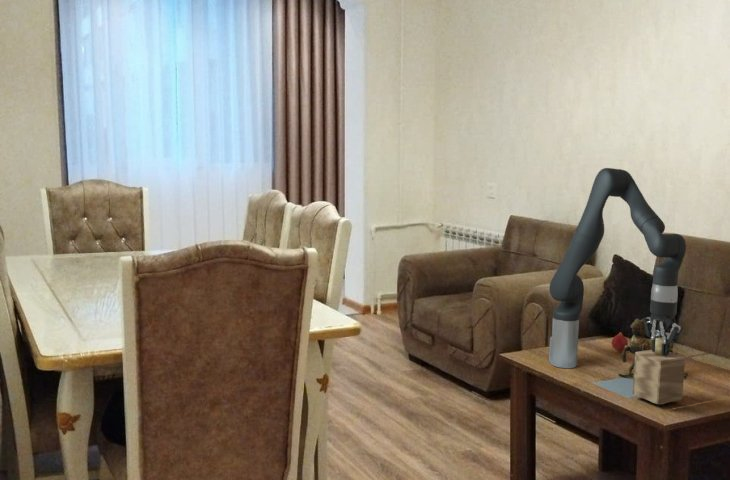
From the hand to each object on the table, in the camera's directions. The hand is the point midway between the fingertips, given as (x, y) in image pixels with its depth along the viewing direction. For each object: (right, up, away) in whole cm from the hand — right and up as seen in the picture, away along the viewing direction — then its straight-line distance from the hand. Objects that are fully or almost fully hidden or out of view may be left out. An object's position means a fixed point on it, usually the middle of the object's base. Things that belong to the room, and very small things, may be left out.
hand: (660, 353), depth 230 cm
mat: (-5, -14, +15) cm, 21 cm away
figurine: (+9, -12, +29) cm, 32 cm away
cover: (0, -14, +2) cm, 14 cm away
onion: (+7, -9, +57) cm, 59 cm away
